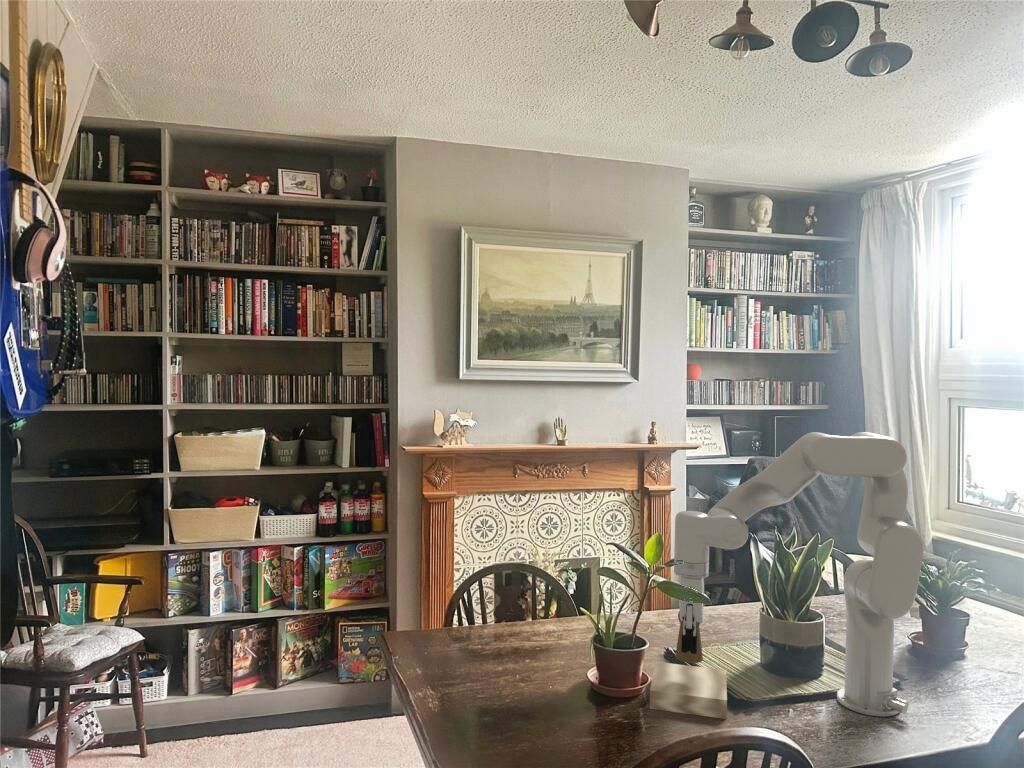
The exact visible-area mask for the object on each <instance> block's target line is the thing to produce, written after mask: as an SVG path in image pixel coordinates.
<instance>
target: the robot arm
mask: <svg viewBox="0 0 1024 768" xmlns="http://www.w3.org/2000/svg"><path fill="white" fill-rule="evenodd" d="M907 460H908V459H907V452H906V449H905V447H904V445H903V444H902V443H901V442H900V441H898V440H897V439H896V438H893V437H891V436H887V435H883V434H879V433H874V432H869V431H862V432H855V433H853V434H852V435H850V436H843V435H842V436H841V435H831V434H826V433H823V432H815V431H812V432H808V433H805V434H804V435H802V436H801V437H800V438H798V439H797V440H796V441H795V442H794V443H793V444H791V445H790V446H789V447H788V448H787V449H786V450H784V452H782V453H781V454H780V455H779V456H778V457H777V458H776V459H774V461H772V462H771V463H769V465H768V466H767V467H766V468H764V469H763V470H762V471H760V472H759V473H757V474H756V475H754V476H752V477H750V478H749V479H748V480H746V481H745V482H743V483H741V484H740V485H738V486H736V487H735V488H733V489H732V490H731V491H729V492H728V493H727V494H726V495H724V496H723V497H722V498H721V499H720V500H719V501H718V502H717V503H715V504H714V505H713V506H712V507H711V508H710V509H709V510H708V512H707V513H704V512H701V511H697V510H683V511H682V510H681V511H679V512H678V513H677V514H676V515H675V518H674V519H675V521H674V557H673V561H674V562H676V561H677V560H683V561H684V563H683V561H679V563H680V562H682V564H679V563H675V564H678V565H674V564H673V573H674V574H675V576H678V578H679V580H678V582H679V583H678V585H679V584H681V585H684V586H687V587H690V588H693V589H695V590H697V591H698V592H700V593H703V594H704V595H705V578H708V577H709V574H710V572H709V570H710V566H709V565H710V547H711V548H712V547H713V548H718V549H719V548H720V549H723V550H736V549H739V548H741V547H743V546H744V545H745V544H746V542H747V541H748V539H749V529H748V526H747V524H746V523H745V522H746V521H748V519H750V518H751V517H752V516H754V515H755V514H757V513H758V512H760V511H762V510H764V509H766V508H770V507H775V506H779V505H783V504H786V503H788V502H790V501H792V500H793V499H794V498H795V497H796V496H797V495H799V494H800V492H801V491H803V490H805V488H806V487H807V486H809V485H810V484H811V483H812V482H813V481H814V480H816V479H817V478H818V477H819V476H820V475H824V476H829V477H841V478H842V477H843V478H862V481H863V485H864V491H863V500H862V501H863V502H862V506H861V512H860V517H859V521H858V522H859V523H858V527H857V534H856V537H857V538H856V539H857V543H858V544H859V546H860V547H861V549H863V550H864V552H866V553H867V554H868V555H871V557H872V558H873V559H872V560H871V559H859V560H856V561H854V562H852V563H851V564H849V566H848V567H847V568H846V570H845V573H844V576H843V581H842V582H843V593H844V594H843V595H844V602H845V615H846V616H845V628H846V629H845V659H844V664H845V665H844V687H842V688H840V689H838V690H837V692H836V699H837V701H838V702H839V704H840V705H842V706H844V707H845V708H846V709H849V710H851V711H853V712H856V713H857V714H858V713H859V714H863V715H866V716H872V717H882V718H883V717H893V716H895V715H897V714H899V713H900V714H902V715H906V714H907V712H908V708H909V701H907V700H904V698H903V699H902V698H899V696H898V689H896V688H895V687H894V650H895V649H894V646H895V645H894V644H895V643H894V639H895V621H894V620H898V619H901V618H902V617H905V616H906V615H907V614H908V613H909V612H910V611H911V609H912V608H913V606H914V603H915V600H916V597H917V592H918V588H919V583H920V577H921V569H922V565H923V560H924V559H923V558H924V544H923V540H922V537H921V535H920V534H919V532H918V531H917V529H915V527H913V526H912V525H910V524H909V523H907V522H906V513H907V503H908V497H909V495H908V493H909V487H908V480H907V477H906V474H905V472H904V467H905V465H906V463H907ZM674 562H673V563H674ZM684 588H686V587H684ZM687 589H689V588H687ZM690 590H692V589H690ZM695 590H692V591H694V592H696V593H698V592H697V591H695ZM689 599H692V598H689ZM684 600H685V599H684ZM678 601H679V602H678V603H679V604H678V605H679V606H678V607H679V611H680V620H681V621H682V622H683V634H682V652H684V653H686V652H688V651H690V652H691V653H692V654H696V652H697V635H696V621H697V622H700V625H701V624H702V623H703V621H704V606H705V605H704V604H705V603H704V604H703V603H702V604H701V603H693V601H689V602H685V601H682V600H679V599H678ZM690 602H691V603H690ZM685 618H687V619H686V620H685ZM692 618H693V619H694V621H692ZM692 624H694V627H693V626H692Z"/></svg>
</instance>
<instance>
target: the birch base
mask: <svg viewBox="0 0 1024 768" xmlns="http://www.w3.org/2000/svg"><path fill="white" fill-rule="evenodd" d="M653 669H654V670H653V674H652V679H651V683H650V689H649V709H651V710H657V711H658V710H659V711H664V712H673V713H678V714H679V713H680V714H687V715H694V716H702V717H709V718H717V719H723V720H727V717H728V693H727V692H728V691H727V685H728V684H727V669H720V668H712V667H705V666H704V667H703V666H696V665H685V664H677V663H672V662H671V663H669V662H660V661H655V664H654V668H653Z"/></svg>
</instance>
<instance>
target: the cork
mask: <svg viewBox="0 0 1024 768" xmlns="http://www.w3.org/2000/svg"><path fill="white" fill-rule="evenodd" d="M677 618H678V622H679V623H680V624H679V631H678V635H677V636H678V637H677V644H676V648H675V655H674V657H675V659H676V660H678V661H680V662H683V663H687V664H698V663H702V662H703V660H704V657H703V649H702V648H703V646H702V640H701V639H702V638H701V630H700V625H701V624H700V622H697V621H696V635H697V652H696V654H692V653H691V652H690V651H688V652H686V653H684V652H682V634H683V622H682V621H681V620H680V610H678V613H677ZM686 619H687V618H685V620H686ZM692 621H694V619H693V618H692ZM692 626H693V627H694V624H692Z"/></svg>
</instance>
